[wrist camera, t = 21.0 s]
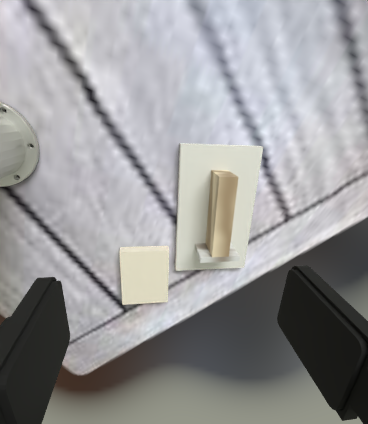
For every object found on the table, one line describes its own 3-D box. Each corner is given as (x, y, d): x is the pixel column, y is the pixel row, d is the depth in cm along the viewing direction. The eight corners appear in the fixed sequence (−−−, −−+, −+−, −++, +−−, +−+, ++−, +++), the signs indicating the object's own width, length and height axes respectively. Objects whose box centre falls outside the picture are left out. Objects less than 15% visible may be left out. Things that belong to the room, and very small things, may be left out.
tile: (120, 246, 46) (123, 296, 50) (119, 252, 44) (122, 304, 48) (168, 244, 47) (166, 294, 52) (169, 250, 45) (167, 301, 50)
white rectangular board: (175, 266, 49) (175, 270, 47) (179, 143, 40) (180, 144, 39) (241, 263, 51) (243, 267, 50) (259, 145, 42) (263, 146, 41)
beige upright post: (194, 248, 46) (200, 262, 42) (199, 169, 41) (206, 176, 36) (230, 246, 47) (239, 261, 43) (239, 170, 42) (251, 177, 37)
